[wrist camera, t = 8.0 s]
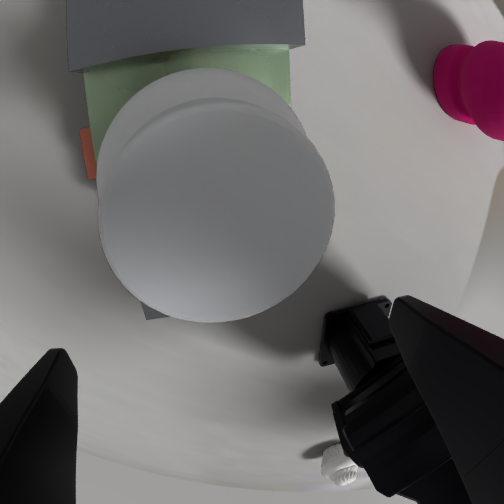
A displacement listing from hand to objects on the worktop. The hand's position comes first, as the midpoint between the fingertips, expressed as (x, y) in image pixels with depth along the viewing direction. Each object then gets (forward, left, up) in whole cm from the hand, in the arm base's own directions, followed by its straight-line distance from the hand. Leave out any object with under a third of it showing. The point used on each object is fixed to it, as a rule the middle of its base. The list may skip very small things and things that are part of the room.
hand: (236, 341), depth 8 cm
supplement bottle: (+4, 0, -9) cm, 10 cm away
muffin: (-42, -14, -13) cm, 46 cm away
